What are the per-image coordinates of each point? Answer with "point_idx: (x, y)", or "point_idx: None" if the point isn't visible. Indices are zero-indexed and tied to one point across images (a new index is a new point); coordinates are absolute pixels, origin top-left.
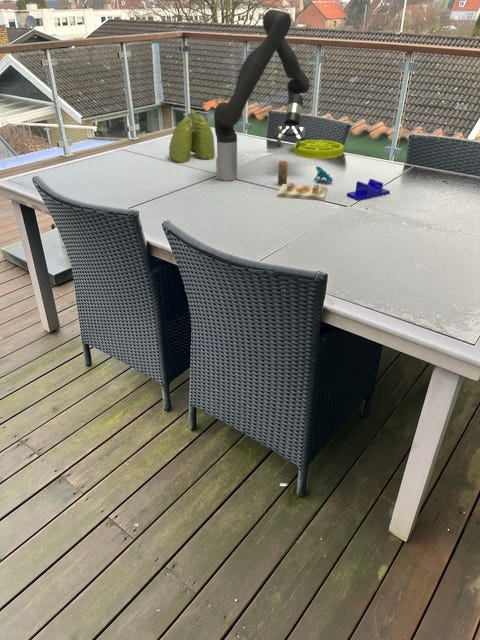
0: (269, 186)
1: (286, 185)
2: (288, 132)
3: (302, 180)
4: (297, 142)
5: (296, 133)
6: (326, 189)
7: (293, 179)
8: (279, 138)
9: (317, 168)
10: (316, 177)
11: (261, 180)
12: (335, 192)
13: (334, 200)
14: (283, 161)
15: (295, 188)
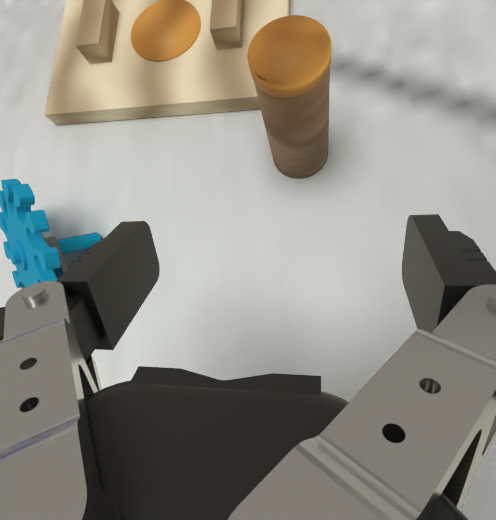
0: (370, 96)
1: None
2: (257, 404)
3: (185, 268)
4: (106, 245)
5: (37, 333)
6: (51, 80)
7: (244, 276)
8: (462, 277)
9: (47, 229)
10: None
11: (460, 197)
12: (21, 112)
13: (37, 12)
14: (291, 78)
15: (204, 43)
